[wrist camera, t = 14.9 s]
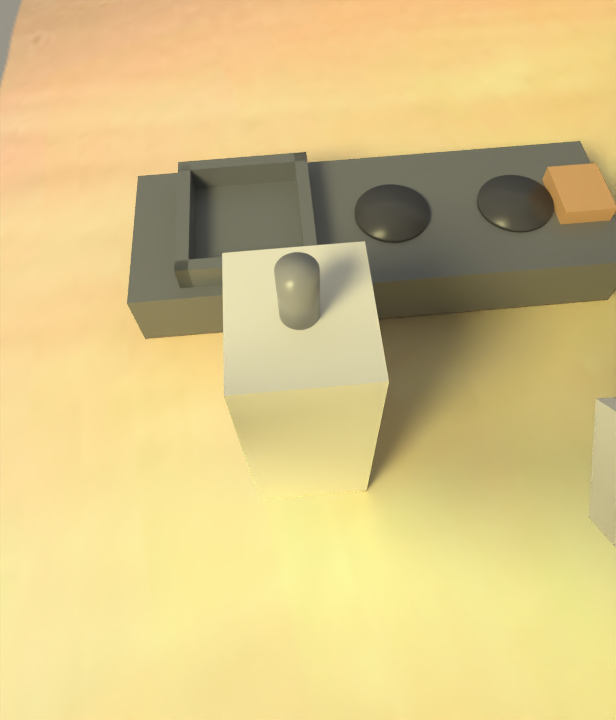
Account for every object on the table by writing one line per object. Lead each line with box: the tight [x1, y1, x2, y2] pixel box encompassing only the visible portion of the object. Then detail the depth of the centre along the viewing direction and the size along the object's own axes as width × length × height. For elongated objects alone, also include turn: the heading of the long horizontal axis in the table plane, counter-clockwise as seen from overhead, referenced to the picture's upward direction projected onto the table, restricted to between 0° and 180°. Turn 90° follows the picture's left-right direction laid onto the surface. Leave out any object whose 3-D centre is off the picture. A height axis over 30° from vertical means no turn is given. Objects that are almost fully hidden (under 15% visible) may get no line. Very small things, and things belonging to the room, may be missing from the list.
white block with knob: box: [222, 241, 389, 501], centre depth 20 cm, size 4×5×12 cm
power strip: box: [127, 141, 616, 339], centre depth 29 cm, size 23×8×4 cm, turn 95°
